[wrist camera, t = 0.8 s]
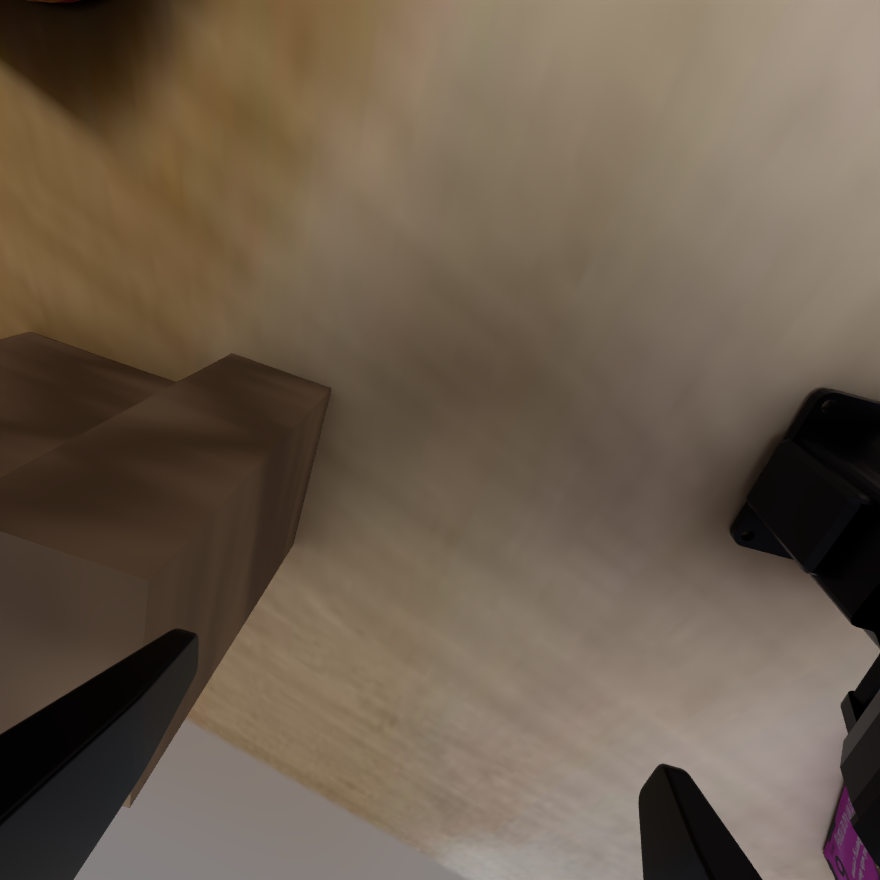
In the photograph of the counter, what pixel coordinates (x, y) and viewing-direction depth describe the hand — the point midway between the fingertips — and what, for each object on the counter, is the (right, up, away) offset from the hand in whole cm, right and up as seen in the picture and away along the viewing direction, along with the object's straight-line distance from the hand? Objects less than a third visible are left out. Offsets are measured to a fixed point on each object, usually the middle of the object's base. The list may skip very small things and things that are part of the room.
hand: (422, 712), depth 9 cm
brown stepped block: (-11, +5, +12) cm, 17 cm away
